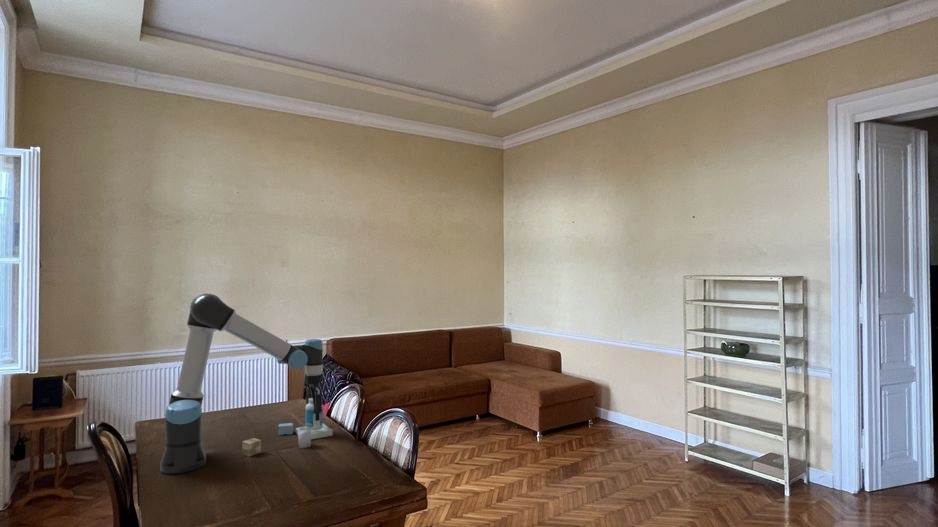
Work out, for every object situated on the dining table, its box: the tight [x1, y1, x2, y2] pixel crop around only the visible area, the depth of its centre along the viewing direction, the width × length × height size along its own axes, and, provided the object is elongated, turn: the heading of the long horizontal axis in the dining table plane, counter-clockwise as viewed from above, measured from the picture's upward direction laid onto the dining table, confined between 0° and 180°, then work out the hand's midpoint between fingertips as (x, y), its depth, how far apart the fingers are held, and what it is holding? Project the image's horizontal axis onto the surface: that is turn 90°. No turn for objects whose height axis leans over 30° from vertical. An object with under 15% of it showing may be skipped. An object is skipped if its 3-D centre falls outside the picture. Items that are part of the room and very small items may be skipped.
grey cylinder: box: [297, 430, 312, 449], centre depth 212 cm, size 5×5×6 cm
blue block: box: [277, 422, 294, 436], centre depth 229 cm, size 6×4×4 cm, turn 106°
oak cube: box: [241, 437, 262, 457], centre depth 204 cm, size 5×5×5 cm
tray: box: [295, 423, 334, 440], centre depth 228 cm, size 13×13×2 cm
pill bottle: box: [304, 398, 324, 431], centre depth 228 cm, size 8×7×14 cm
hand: (313, 425), depth 228 cm, fingers closed on pill bottle, 7 cm apart
